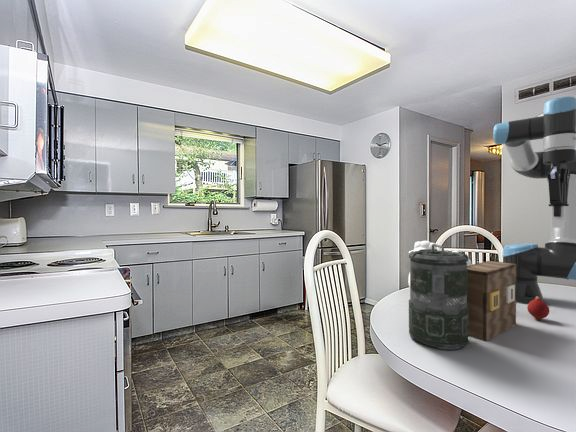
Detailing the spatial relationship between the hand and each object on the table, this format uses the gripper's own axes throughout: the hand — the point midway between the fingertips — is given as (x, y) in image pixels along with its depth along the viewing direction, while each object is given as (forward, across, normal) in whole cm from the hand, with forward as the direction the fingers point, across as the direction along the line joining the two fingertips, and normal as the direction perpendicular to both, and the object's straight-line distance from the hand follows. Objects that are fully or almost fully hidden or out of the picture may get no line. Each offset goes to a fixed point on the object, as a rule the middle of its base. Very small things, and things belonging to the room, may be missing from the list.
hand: (558, 227), depth 94 cm
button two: (+24, -20, +12) cm, 33 cm away
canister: (+33, -34, +19) cm, 51 cm away
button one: (+24, -8, +12) cm, 28 cm away
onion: (+33, +8, +7) cm, 34 cm away
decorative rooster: (+33, +2, +38) cm, 50 cm away
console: (+32, -14, +14) cm, 38 cm away
